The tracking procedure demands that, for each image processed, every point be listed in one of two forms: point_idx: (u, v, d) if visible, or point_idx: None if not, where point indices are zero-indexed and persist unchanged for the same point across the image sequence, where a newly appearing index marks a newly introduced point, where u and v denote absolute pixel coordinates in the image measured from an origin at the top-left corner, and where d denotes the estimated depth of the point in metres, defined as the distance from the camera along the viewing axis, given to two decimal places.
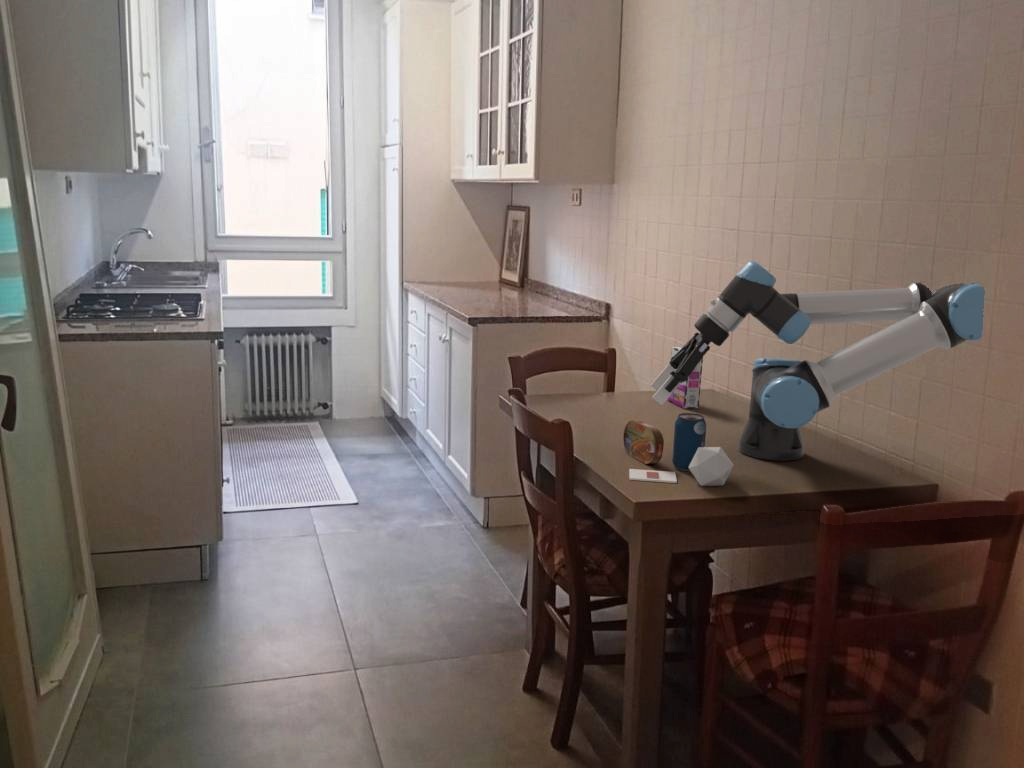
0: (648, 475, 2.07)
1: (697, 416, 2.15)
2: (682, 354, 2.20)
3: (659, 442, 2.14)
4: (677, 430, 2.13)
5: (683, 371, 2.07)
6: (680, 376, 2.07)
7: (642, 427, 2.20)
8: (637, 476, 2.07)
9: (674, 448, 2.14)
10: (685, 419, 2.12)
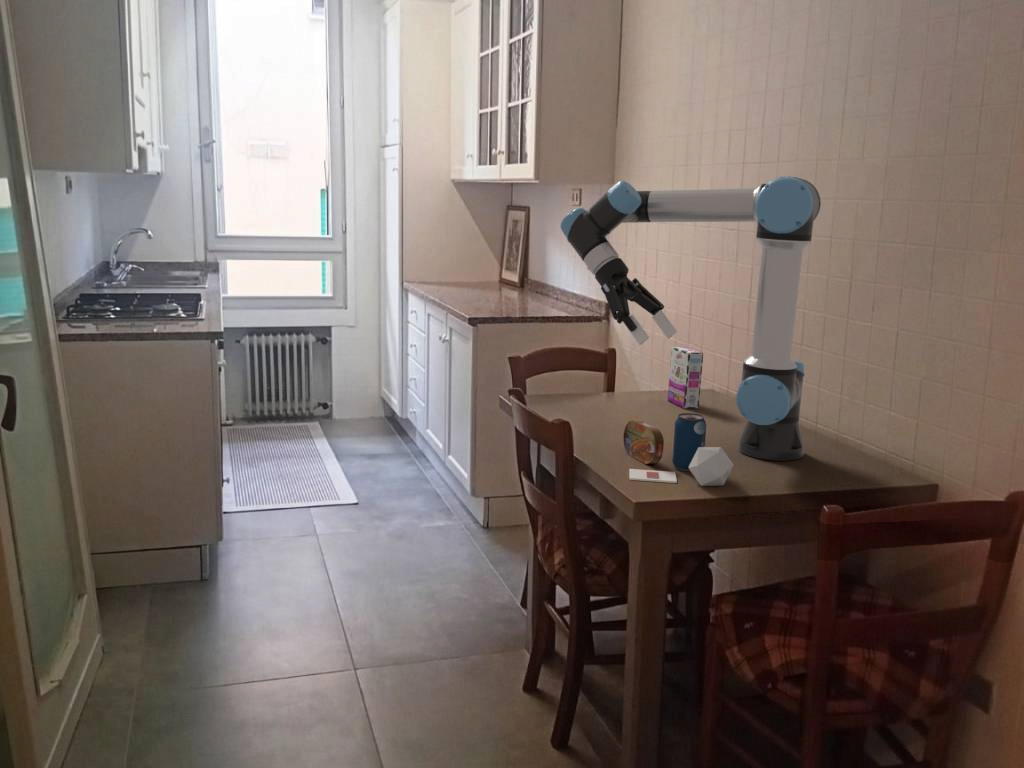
0: (648, 475, 2.07)
1: (697, 416, 2.15)
2: (639, 303, 2.26)
3: (659, 442, 2.14)
4: (677, 430, 2.13)
5: (614, 311, 2.15)
6: (616, 315, 2.14)
7: (642, 427, 2.20)
8: (637, 476, 2.07)
9: (674, 448, 2.14)
10: (685, 419, 2.12)
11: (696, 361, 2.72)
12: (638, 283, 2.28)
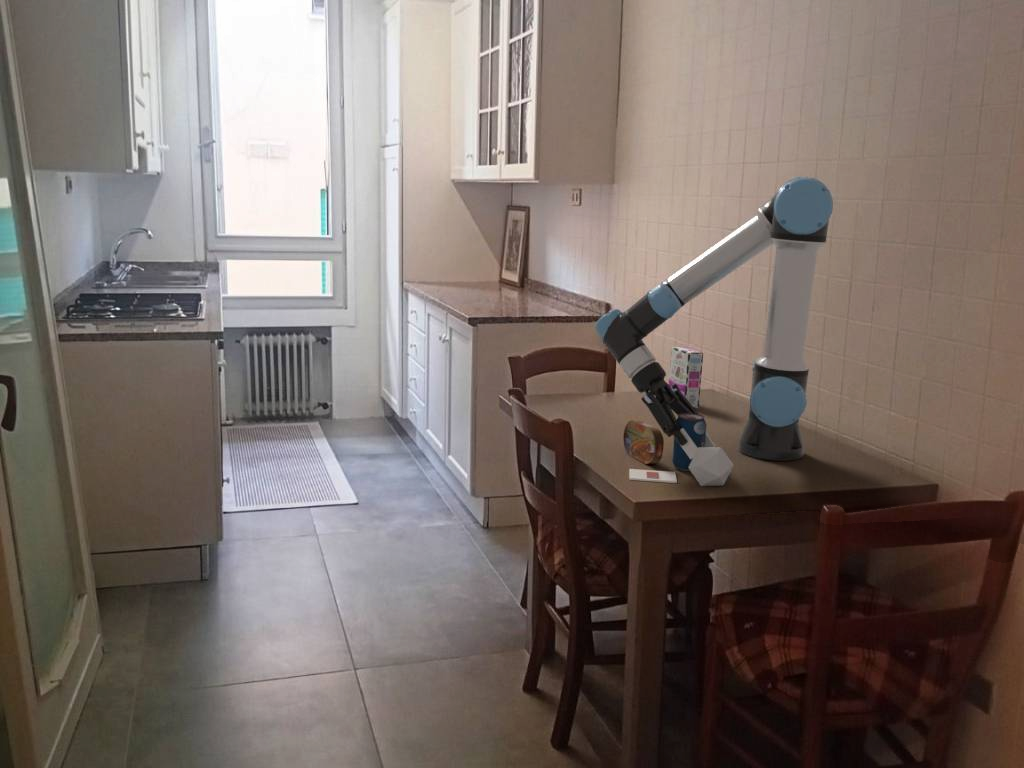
0: (648, 475, 2.07)
1: (697, 416, 2.15)
2: (676, 411, 2.19)
3: (659, 442, 2.14)
4: None
5: (664, 425, 2.10)
6: (667, 430, 2.10)
7: (642, 427, 2.20)
8: (637, 476, 2.07)
9: (674, 448, 2.14)
10: (685, 419, 2.12)
11: (696, 361, 2.72)
12: (677, 389, 2.21)
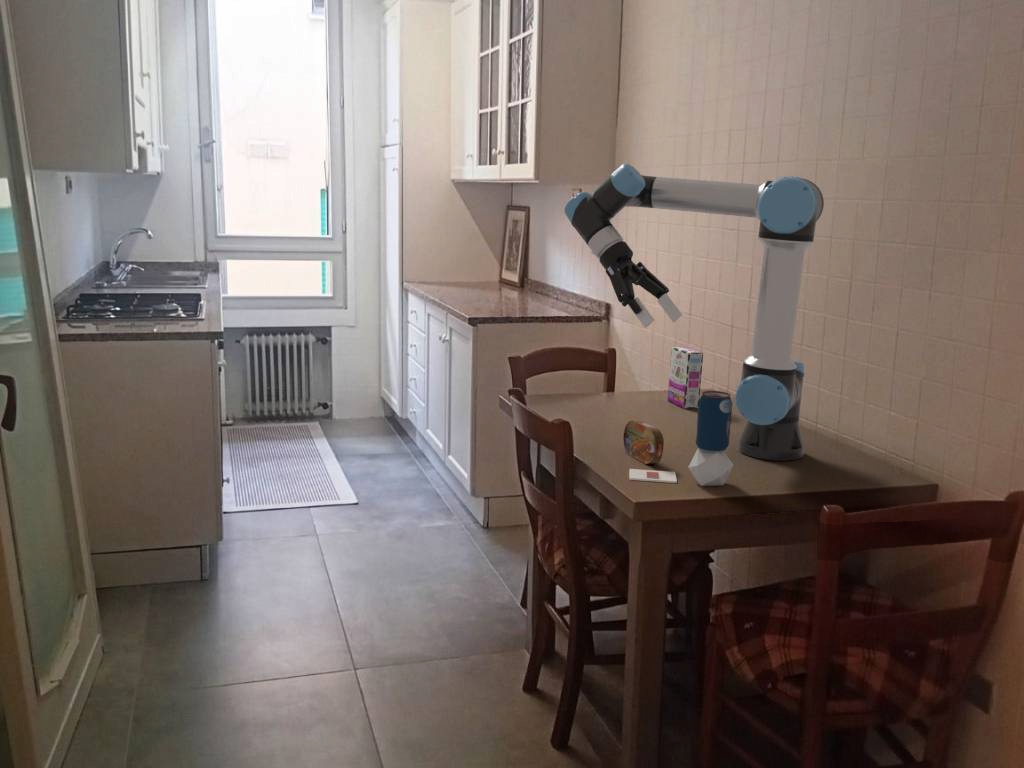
0: (648, 475, 2.07)
1: (722, 394, 2.02)
2: (644, 287, 2.26)
3: (659, 442, 2.14)
4: (701, 408, 2.00)
5: (619, 293, 2.14)
6: (621, 298, 2.13)
7: (642, 427, 2.20)
8: (637, 476, 2.07)
9: (698, 428, 2.02)
10: (710, 397, 1.99)
11: (696, 361, 2.72)
12: (643, 267, 2.27)
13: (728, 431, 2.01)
